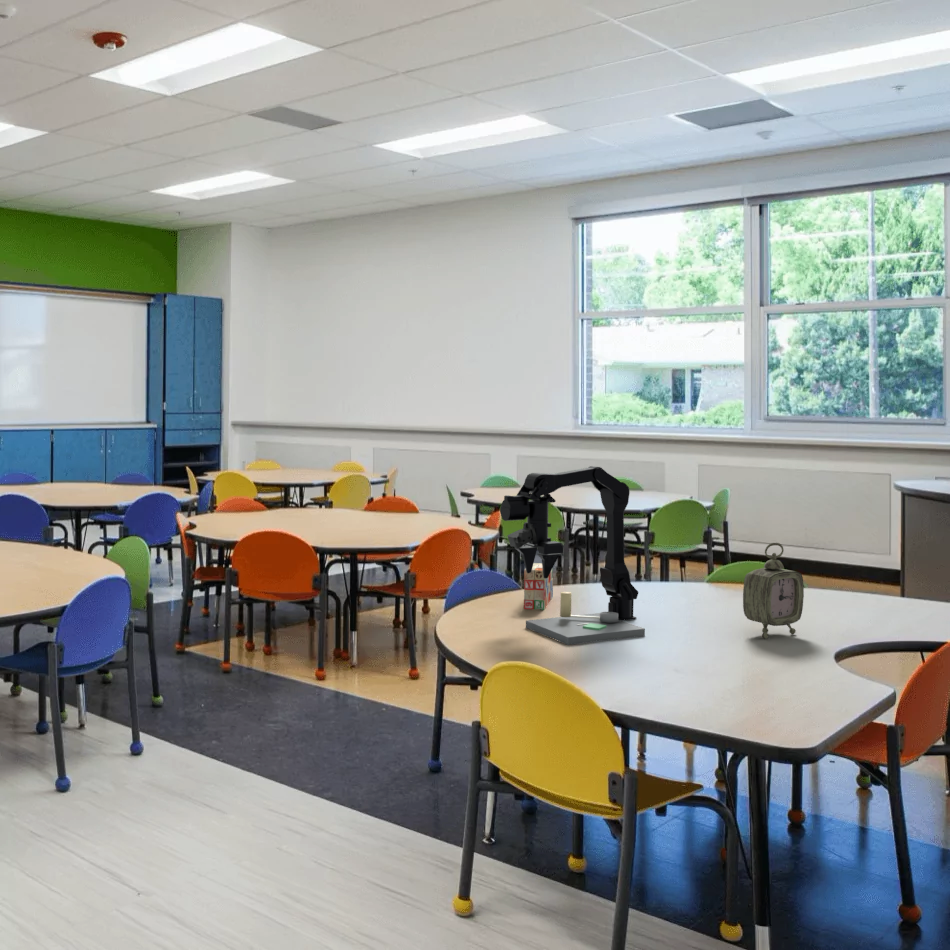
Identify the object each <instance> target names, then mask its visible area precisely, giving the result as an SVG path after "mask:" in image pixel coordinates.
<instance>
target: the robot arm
mask: <svg viewBox="0 0 950 950" xmlns="http://www.w3.org/2000/svg"><path fill="white" fill-rule="evenodd" d="M590 482H591V484H592V486H594V488H595V489H596V490H597V491H599V493H600V500H601V503H602V506H603V508H604V510H605V511H606V559H607V560H606V564H605V566H604V567H600V568H599V573H600V574H599V575H600V578H599V582H600V583H601V585H602V588H603V589H604V590H605V594H606V595H607V596H609V602H608V604H607V612H616V613H618V620H621V621H631V620H637V617H636V616H634V604H635V603H634V600H637V598H638V595H639V591H638V590H637V588H636V587H635V586H633V584H632V582H631V576H630V571H629V569H628V567H627V565H626V563H625V524H624V521H625V520H624V518H625V517H624V516H625V515H624V514H625V510H626V509H627V506H628V504H629V499H630V493H631V492H630V487H629V486H628V484H627V483H626V482H623V481H620V480H619V479H617V478H616V477H614V476H613V475H611V474H610V473H608V471H606V470H605V469H603V467H601V466H593V465H591V466H590V465H589V466H588V467H584V468H579V469H573V470H567V471H562V472H558V473H557V472H556V473H555V472H554V473H549V472H548V473H545V472H531V473H529V474H527V476H526V477H525V479H524V483H523V485H522V487H521V488H520V489H519V491H518V492H517V493H516V495H503V500H502V502H501V504H500V507H499V513H500V516H501V517H500V518H501V519H502V520H503V521H504V522H508V521H509V522H510V521H524V520H526V522H525V521H524V523H523V528H521V529H518V530H516V531H513V532H512V533H510V534H508V535H507V539H508V542H509V545H510V547H511V548H512V547H514V549H515V550H517V552H519V554H521V558H522V560H523V564H524V567H525V568H526V571H527V573H531V571H532V567H533V563H535V559H536V555H537V556H538V557H539V558H540V559H541V563H542V568H543V577H544V578H548V576H549V574H550V572H551V570H552V569H553V568H554V566H555V564H556V563H557V561H558V559H559V557H560V556H562V554H564V553H565V546H564V544H563V543H562V542H560V541H555V540H552V538H551V537H549V528H552V523H551V522H549V504H550V503H552V504H553V503H555V502H556V499H555V498H553V497H552V495H551V494H552V493H554V492H556V491H557V490H559V489H561V488H564V487H571V486H575V485H579V484H581V485H582V484H587V483H590ZM537 551H538V553H537ZM525 568H524V569H525Z"/></svg>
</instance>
